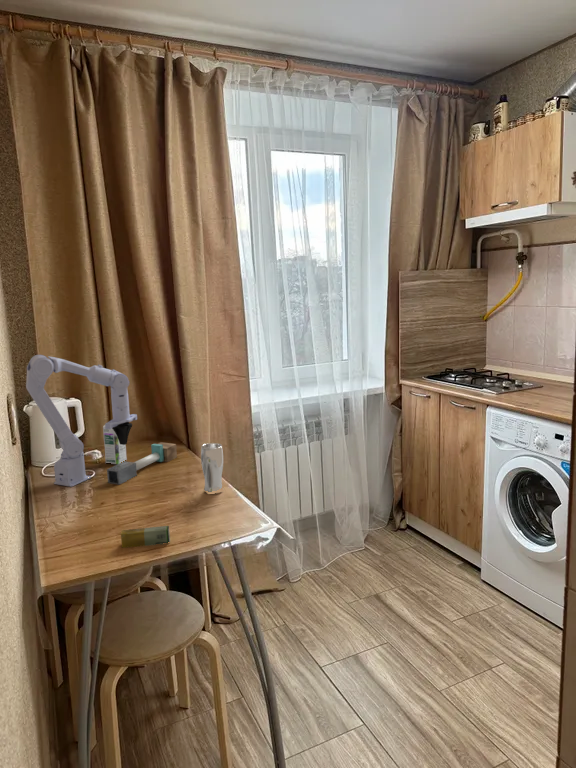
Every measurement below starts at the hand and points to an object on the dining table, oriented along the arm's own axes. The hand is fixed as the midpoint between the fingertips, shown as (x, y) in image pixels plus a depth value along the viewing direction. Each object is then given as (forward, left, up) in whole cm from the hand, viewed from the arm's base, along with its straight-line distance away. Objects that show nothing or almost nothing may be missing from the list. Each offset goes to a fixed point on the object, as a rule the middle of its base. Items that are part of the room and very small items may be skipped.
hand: (123, 444), depth 194 cm
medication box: (-43, -42, -10) cm, 61 cm away
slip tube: (+7, -5, -10) cm, 13 cm away
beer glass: (-6, -40, -10) cm, 42 cm away
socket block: (+17, -5, -10) cm, 20 cm away
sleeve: (-7, -5, -10) cm, 13 cm away
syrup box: (+7, +10, -10) cm, 16 cm away
